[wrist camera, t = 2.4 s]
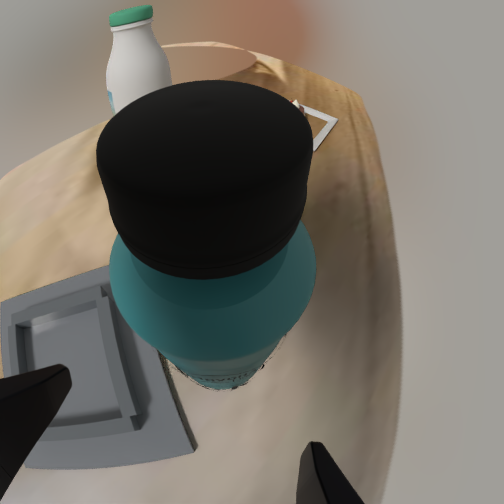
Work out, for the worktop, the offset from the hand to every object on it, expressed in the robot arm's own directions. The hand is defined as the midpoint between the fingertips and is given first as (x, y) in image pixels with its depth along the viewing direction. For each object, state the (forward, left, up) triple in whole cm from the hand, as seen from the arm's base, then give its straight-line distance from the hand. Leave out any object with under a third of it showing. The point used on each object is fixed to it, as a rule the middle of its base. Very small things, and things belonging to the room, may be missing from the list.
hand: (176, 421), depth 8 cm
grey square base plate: (+6, +11, -13) cm, 18 cm away
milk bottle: (+32, -2, -13) cm, 35 cm away
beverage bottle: (+4, -3, -13) cm, 14 cm away
